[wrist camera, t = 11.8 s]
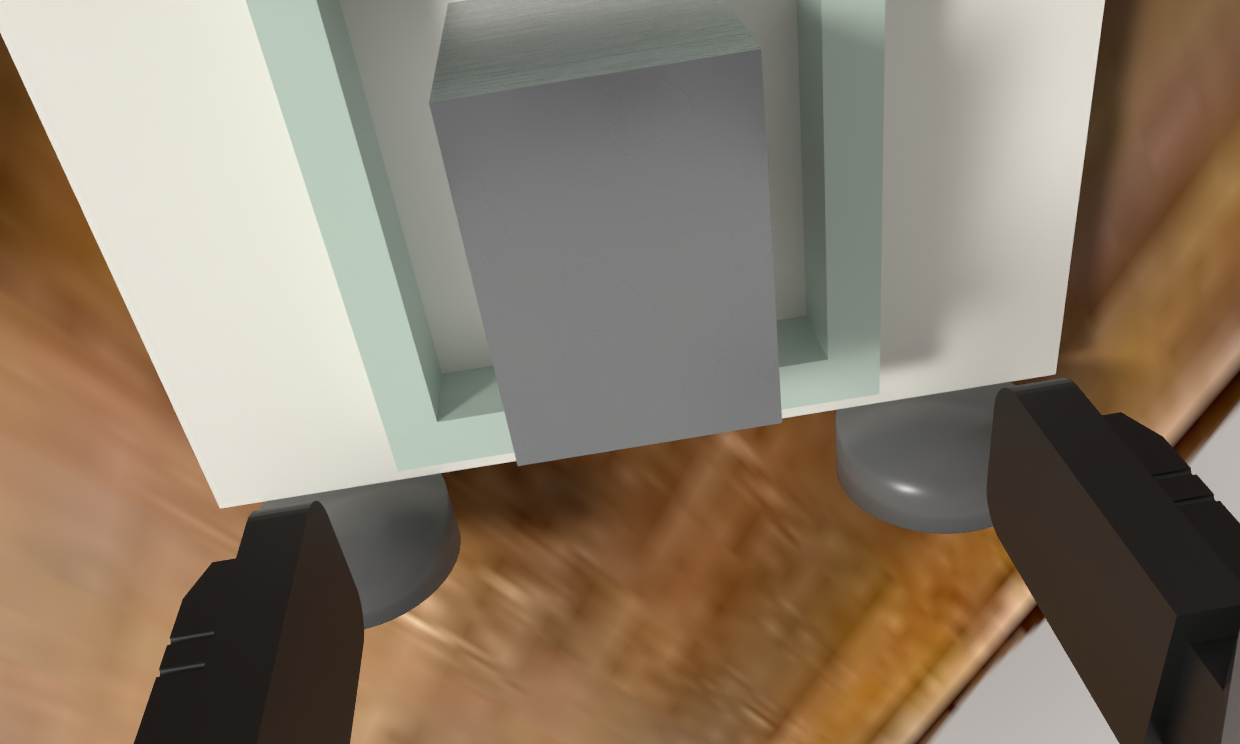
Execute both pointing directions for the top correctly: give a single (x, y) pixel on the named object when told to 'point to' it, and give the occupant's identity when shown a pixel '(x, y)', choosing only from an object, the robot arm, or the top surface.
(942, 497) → the toy chassis
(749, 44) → the block
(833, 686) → the top surface
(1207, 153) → the top surface
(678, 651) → the top surface
